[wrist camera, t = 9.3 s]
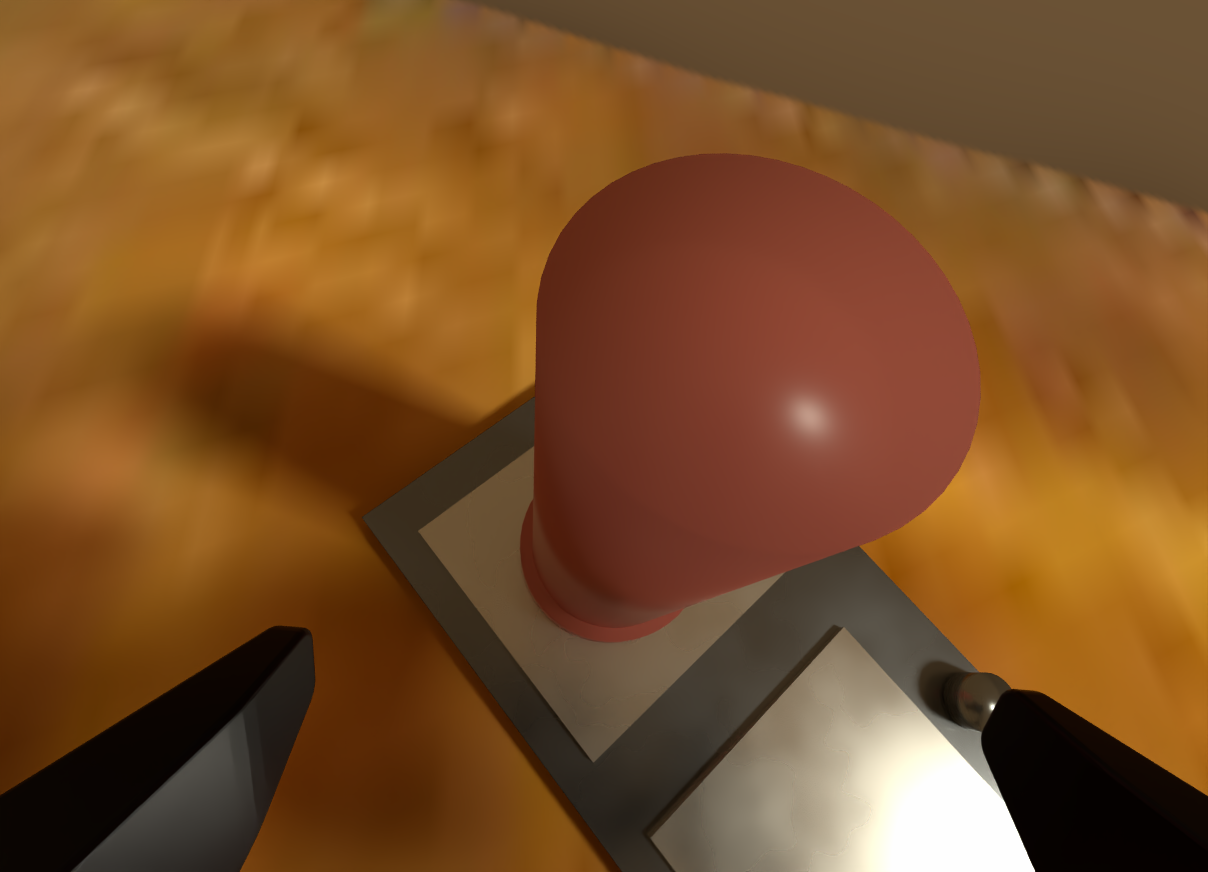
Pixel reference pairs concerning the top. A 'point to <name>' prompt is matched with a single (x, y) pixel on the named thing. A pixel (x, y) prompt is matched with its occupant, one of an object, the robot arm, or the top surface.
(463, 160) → the top surface
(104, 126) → the top surface
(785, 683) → the board
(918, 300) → the red joystick handle
